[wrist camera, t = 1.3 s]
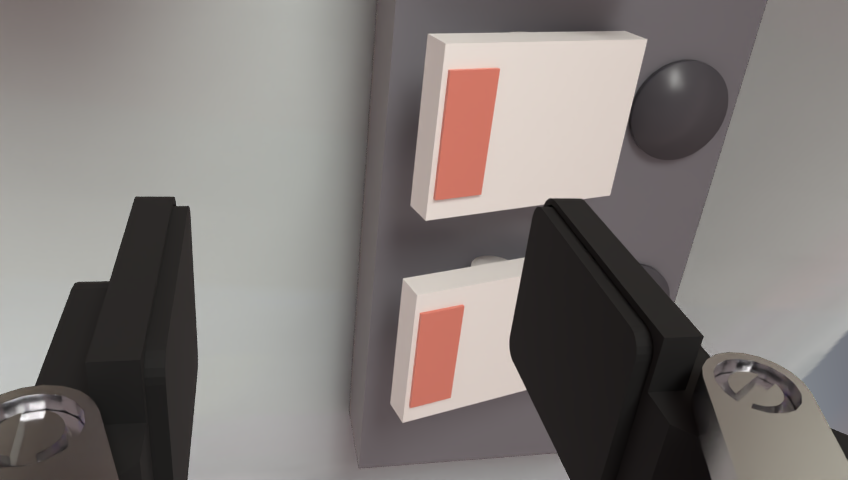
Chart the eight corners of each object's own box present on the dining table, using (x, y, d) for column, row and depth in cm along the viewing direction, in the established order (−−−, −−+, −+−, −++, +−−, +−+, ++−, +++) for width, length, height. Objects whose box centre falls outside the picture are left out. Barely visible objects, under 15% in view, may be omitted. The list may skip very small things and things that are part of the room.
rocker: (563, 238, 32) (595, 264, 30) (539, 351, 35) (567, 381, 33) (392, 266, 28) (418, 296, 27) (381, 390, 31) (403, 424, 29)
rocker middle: (609, 24, 28) (650, 40, 26) (577, 173, 30) (612, 197, 29) (415, 26, 24) (447, 44, 22) (399, 194, 27) (427, 222, 25)
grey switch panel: (826, -448, 25) (926, -494, 21) (598, 395, 42) (632, 451, 38) (414, -543, 22) (447, -616, 18) (349, 411, 39) (359, 473, 35)
